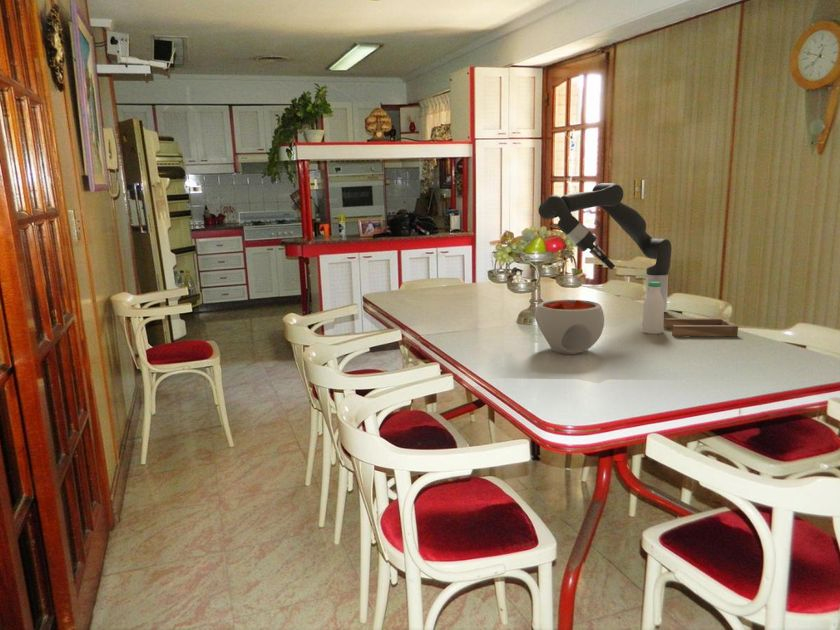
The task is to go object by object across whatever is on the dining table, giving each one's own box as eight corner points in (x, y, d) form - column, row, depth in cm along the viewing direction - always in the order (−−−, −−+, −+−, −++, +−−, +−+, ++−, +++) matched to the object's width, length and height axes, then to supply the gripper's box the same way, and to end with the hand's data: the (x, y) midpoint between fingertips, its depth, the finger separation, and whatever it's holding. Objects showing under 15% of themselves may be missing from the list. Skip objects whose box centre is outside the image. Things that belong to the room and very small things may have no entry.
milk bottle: (664, 334, 243) (667, 283, 240) (643, 334, 245) (645, 283, 241) (661, 330, 251) (663, 280, 247) (641, 330, 252) (642, 280, 248)
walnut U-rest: (664, 328, 254) (664, 318, 254) (724, 328, 251) (725, 318, 250) (673, 336, 240) (673, 326, 239) (737, 336, 236) (738, 326, 236)
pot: (616, 349, 224) (617, 300, 220) (580, 364, 207) (581, 311, 204) (557, 340, 241) (558, 294, 237) (520, 352, 224) (520, 303, 220)
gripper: (590, 230, 237) (623, 262, 238) (586, 228, 250) (617, 258, 251) (575, 245, 239) (608, 276, 240) (572, 242, 252) (603, 272, 252)
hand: (612, 267), depth 245 cm, fingers closed
